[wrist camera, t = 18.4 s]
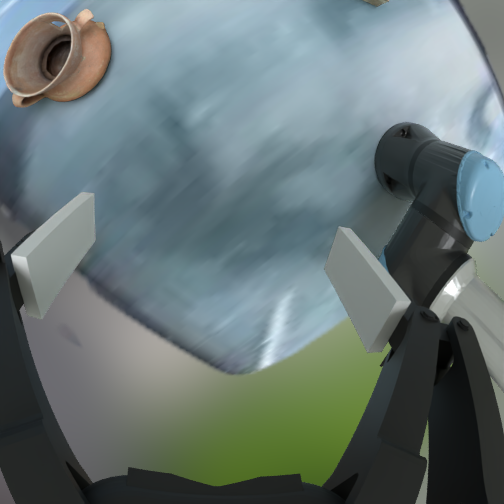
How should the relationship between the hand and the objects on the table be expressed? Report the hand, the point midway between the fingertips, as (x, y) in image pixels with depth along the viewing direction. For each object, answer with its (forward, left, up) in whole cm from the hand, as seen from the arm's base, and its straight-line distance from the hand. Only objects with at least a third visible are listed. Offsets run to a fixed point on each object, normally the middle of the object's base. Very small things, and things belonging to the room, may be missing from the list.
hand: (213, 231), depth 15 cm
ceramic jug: (+27, -13, -35) cm, 46 cm away
